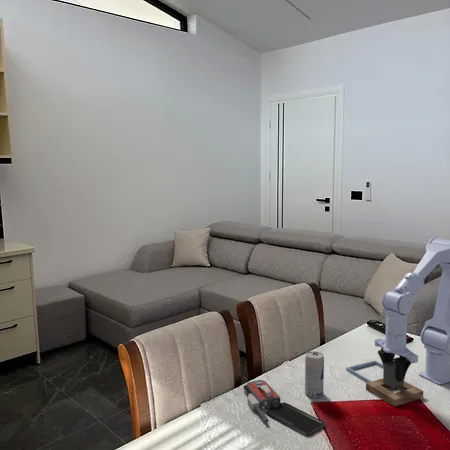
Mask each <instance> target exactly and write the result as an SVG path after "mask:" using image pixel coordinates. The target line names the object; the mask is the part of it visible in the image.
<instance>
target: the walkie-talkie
mask: <svg viewBox="0 0 450 450" xmlns="http://www.w3.org/2000/svg"><path fill="white" fill-rule="evenodd" d="M243 390H244V391H245V393H246V395H247V405H248V406H249V407H250V410H251V411H256V412H257V413H258V415H259V416H260V417H261V418H262V419H263V421H264V422H266V423H269V421H270V420H269V418H268V417H267V415H266V414H265V413H264V412H263V411H264V410H268V409H270V408H272V407H278V406H279V404H280V403H281V396H280V395H279V394H278V393H277V392H276V391H275V390H274V389H273V388H272V387H271V385H269V384H268V382H266V381H265V380H262V379H259V380H258V379H257V380H254V381H248V382H247V383H246V384H245V385H243Z"/></svg>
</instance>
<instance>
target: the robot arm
mask: <svg viewBox="0 0 450 450" xmlns="http://www.w3.org/2000/svg"><path fill="white" fill-rule="evenodd" d="M438 265H439V266H440V267H441V269H442V272H441V276H440V277H441V278H440V282H439V288H438V291H437V292H438V293H437V297H436V301H435V308H434V312H433V316H432V318H430V319H429V320H426V321H425V322H424V326H423V328H422V330H421V332H420V341H421V343H422V344H423V345H424V346H423V347H424V349H425V367H424V368H425V371H422V372H418V375H419V376H421V377H423V378H425V379H427V380H429V381H431V382H433V383H435V384H437V385H444V384H446V383H449V382H450V239H445V238H439V237H432V238H431V239H430V240H429V241H428V242H427V244H426V245H425V253H424V255H423V257H422V258H421V260H420V261H419V263H418V264H417V266H416V267H415V269H414V271H412V272H407V273H406V274H405V275H404V276H403V278H402V279H401V280H400V281H399V282H398V284H397V285H396V286H395V287H394V288H393V290H390V291H389V290H388V291H387V292H386V293H385V294H384V295H383V298H382V300H381V305H382V308H383V310H384V311H383V312H384V315H385V334H384V335H385V337H384V338H385V339H382V338H375V339H374V347H377V348H378V347H379V348H380V349H378V350H377V354H378V356H379V358H380V360H381V364H383V367H384V363H387V362H391V361H394V362H395V365H396V377H397V381H399V382H400V381H403V380H404V381H405V378H406V375H407V373H408V370H409V368H410V367H411V365H412V364H416V363H418V362H419V355H418V354H416V353H414V352H413V351H412V350H410V349H409V348H408V347H407V335H408V334H407V331H408V329H407V328H408V314H409V313H410V312H411V311H412V308H413V304H414V302H415V298H416V296H417V295H418V294H419V292H420V291H421V290H422V289H423V287H424V286H425V281H424V280H425V279H426V277H428V276H429V274H430V273H432V271H433V270H434V269H435V268H436V267H437V266H438ZM395 356H398V357H395Z"/></svg>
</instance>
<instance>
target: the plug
mask: <svg viewBox="0 0 450 450" xmlns="http://www.w3.org/2000/svg"><path fill="white" fill-rule="evenodd" d="M382 378H383V383H385V384H386V385H388V386H390V387H392V388H391V389H396V388H397V387H400V386H404V381H405V379H404V380H403V381H400V382H399V381H397V377H396V365H395V362H394V361H391V362H387V363H384V369H383V377H382Z"/></svg>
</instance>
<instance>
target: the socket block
mask: <svg viewBox="0 0 450 450" xmlns="http://www.w3.org/2000/svg"><path fill="white" fill-rule="evenodd" d="M371 381H372V382H368V383H367V382H365V390H366V391H368V392H370V393H371V394H373V395H374V396H376V397H377V398H380V399H381V400H383V401H384V402H386V403H387V404H389V405H391V406H392V407H398V406H401V405H405V404H407V403H411V402H413V401H417V400H420V399H423V398H424V390H422V389H420V388H418V387H417V386H414V385H413V384H411V383H409V382H407V381H406V380H404V386H400V387H397V388H395V389H396V390H398V391H397V392H393V391H391V390H390V389H393V388H392V387H390V386H388V385H386V384H385V383H383V377H382V378H380V379H376V380H371Z"/></svg>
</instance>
